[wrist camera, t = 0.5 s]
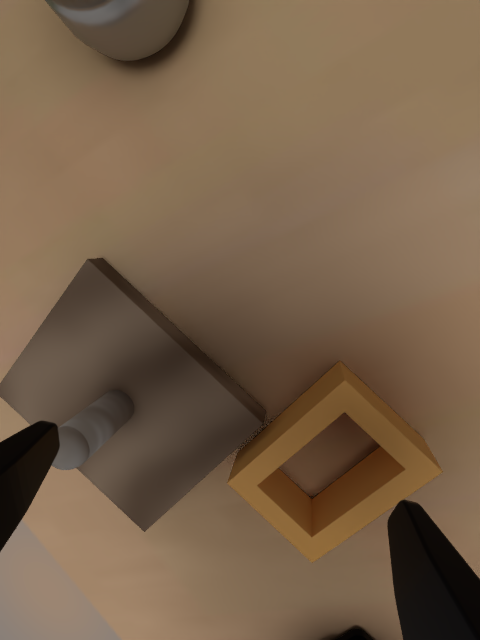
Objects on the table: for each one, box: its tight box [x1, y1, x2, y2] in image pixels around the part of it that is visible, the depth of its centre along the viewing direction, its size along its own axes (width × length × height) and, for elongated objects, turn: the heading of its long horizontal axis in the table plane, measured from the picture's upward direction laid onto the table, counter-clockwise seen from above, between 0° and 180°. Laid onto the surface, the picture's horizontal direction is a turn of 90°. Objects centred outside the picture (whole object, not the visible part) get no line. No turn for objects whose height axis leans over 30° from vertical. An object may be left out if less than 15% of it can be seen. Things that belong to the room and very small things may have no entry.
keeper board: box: [0, 258, 266, 532], centre depth 20 cm, size 14×12×7 cm
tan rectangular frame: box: [227, 361, 443, 563], centre depth 20 cm, size 7×9×3 cm
